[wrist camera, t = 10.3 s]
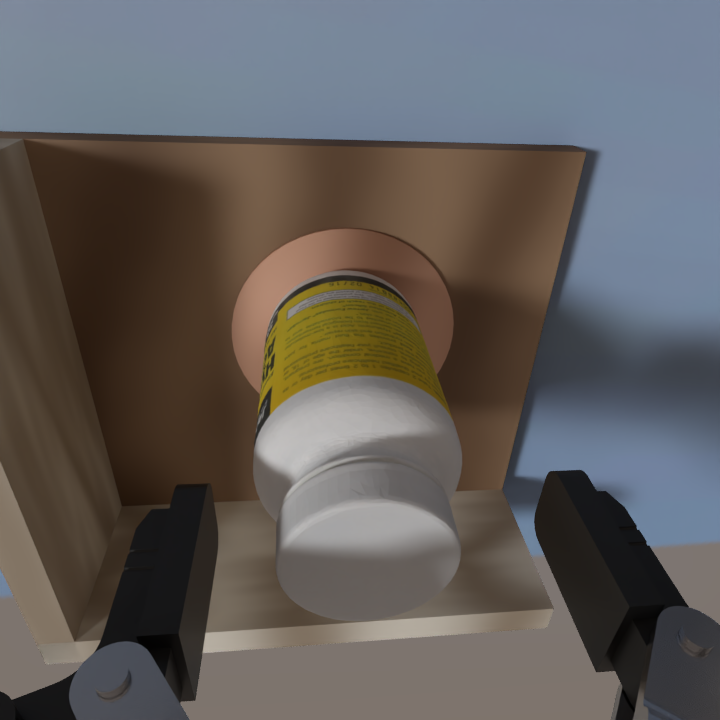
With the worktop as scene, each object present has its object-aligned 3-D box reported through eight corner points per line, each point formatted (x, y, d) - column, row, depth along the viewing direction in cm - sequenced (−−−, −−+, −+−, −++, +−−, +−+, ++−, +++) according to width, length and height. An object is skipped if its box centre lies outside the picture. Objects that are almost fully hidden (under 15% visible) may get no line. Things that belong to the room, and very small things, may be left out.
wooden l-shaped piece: (573, 145, 18) (705, 209, 12) (491, 492, 27) (546, 627, 21) (-6, 131, 16) (-176, 199, 10) (105, 509, 25) (46, 664, 19)
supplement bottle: (247, 282, 18) (205, 503, 10) (406, 251, 18) (495, 448, 10) (285, 408, 21) (277, 658, 13) (423, 381, 21) (502, 616, 13)
